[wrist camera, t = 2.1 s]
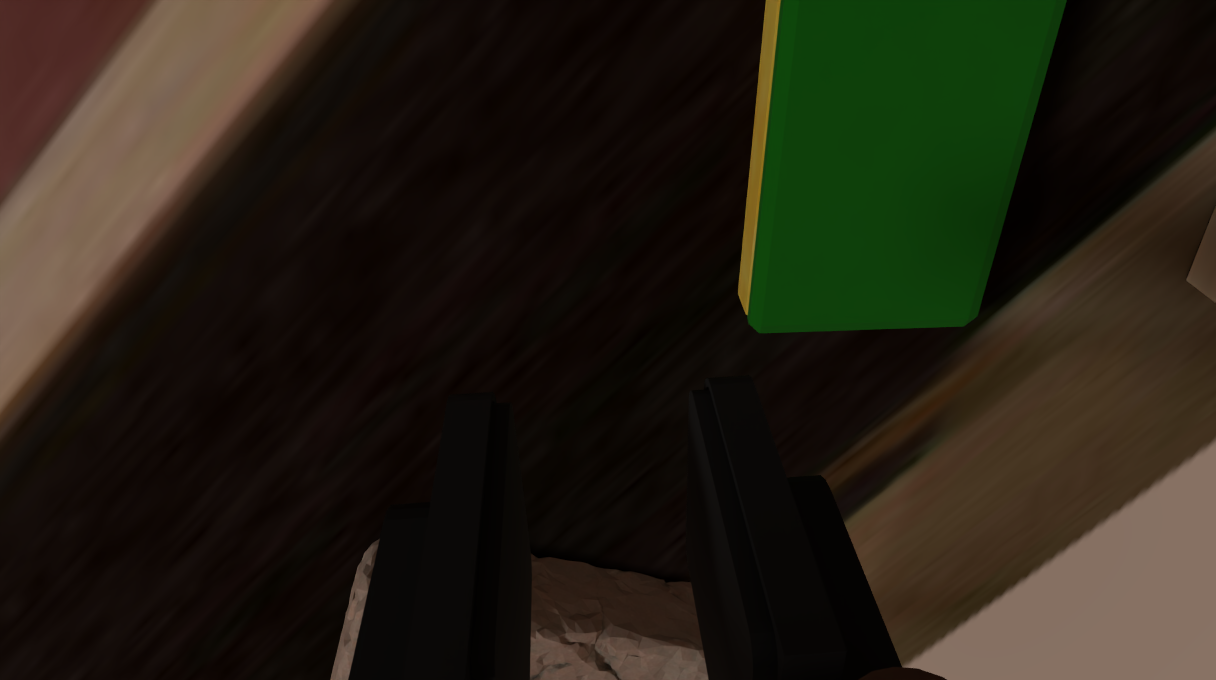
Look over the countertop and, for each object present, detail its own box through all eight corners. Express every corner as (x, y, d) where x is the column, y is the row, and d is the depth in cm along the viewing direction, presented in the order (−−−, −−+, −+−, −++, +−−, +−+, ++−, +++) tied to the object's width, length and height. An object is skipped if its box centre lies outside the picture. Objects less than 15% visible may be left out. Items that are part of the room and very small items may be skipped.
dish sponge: (734, 295, 28) (748, 335, 26) (781, -205, 20) (807, -204, 18) (945, 289, 28) (976, 328, 26) (1070, -206, 20) (1128, -205, 18)
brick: (764, 585, 35) (790, 684, 32) (692, 700, 40) (707, 800, 36) (371, 510, 32) (345, 611, 28) (338, 645, 36) (311, 749, 32)
